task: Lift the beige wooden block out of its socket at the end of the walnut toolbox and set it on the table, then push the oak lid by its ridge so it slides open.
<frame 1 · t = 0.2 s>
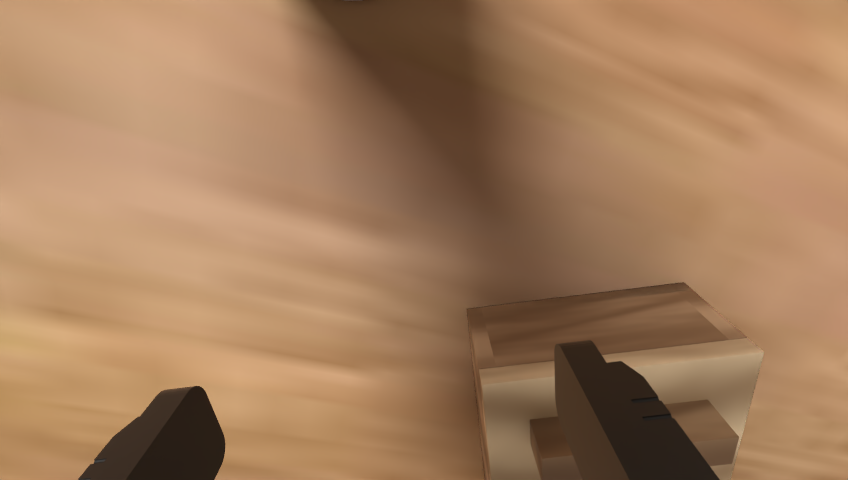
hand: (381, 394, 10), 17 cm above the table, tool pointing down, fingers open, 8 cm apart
toolbox: (572, 392, 33), on the table
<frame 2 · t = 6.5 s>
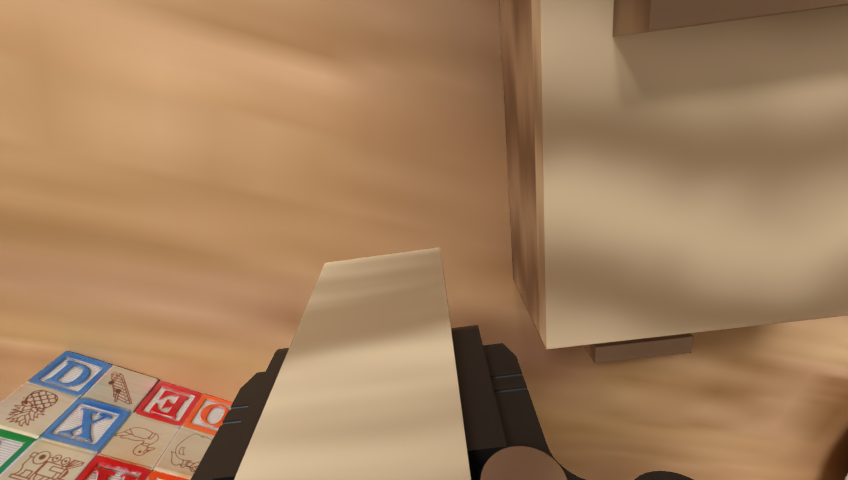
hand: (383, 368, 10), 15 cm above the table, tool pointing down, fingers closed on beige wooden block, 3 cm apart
beige wooden block: (392, 304, 13), point 12 cm above the table, touching gripper
toolbox: (643, 116, 23), on the table
lid: (751, 136, 15), point 8 cm above the table, slide at 0.0 cm
stack of blocks: (216, 425, 31), on the table
when the fingers open (3 cm above the table, at t = 8.7 s): beige wooden block stays where it is, on the table.
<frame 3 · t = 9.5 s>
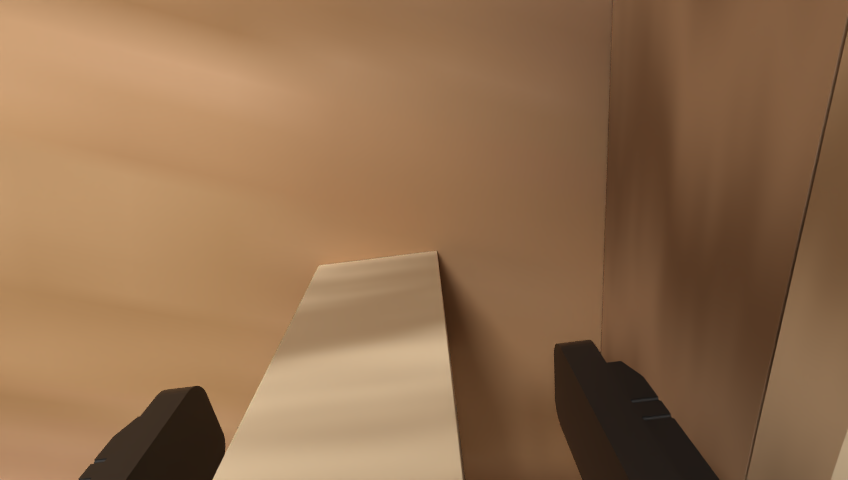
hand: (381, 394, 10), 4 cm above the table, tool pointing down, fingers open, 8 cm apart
beige wooden block: (387, 309, 13), on the table
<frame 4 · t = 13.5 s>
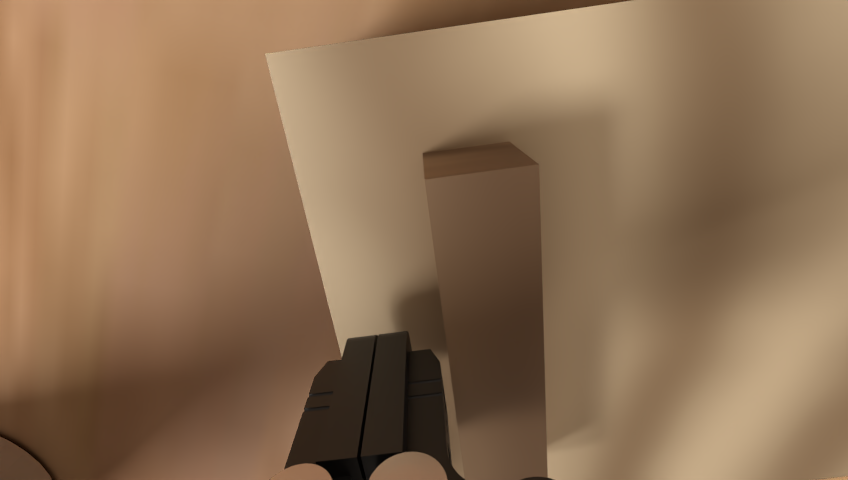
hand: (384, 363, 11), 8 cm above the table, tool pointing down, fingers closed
lid: (681, 320, 11), point 8 cm above the table, slide at 0.2 cm, touching gripper
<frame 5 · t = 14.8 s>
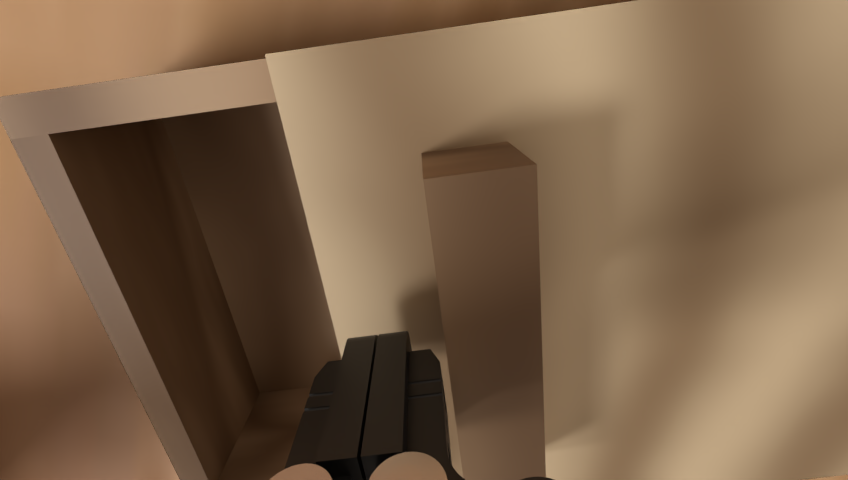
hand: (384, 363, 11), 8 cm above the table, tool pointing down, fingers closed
toolbox: (405, 240, 18), on the table
lid: (678, 320, 11), point 8 cm above the table, slide at 7.3 cm, touching gripper
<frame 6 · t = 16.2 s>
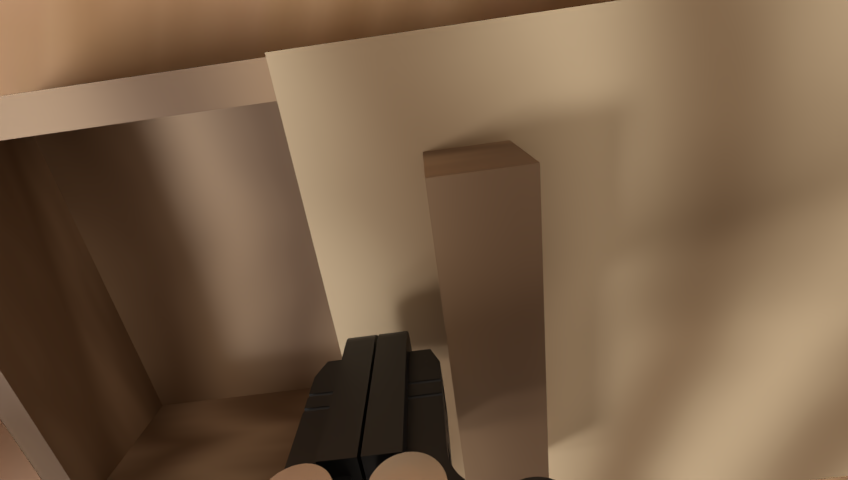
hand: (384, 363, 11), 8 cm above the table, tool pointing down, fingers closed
toolbox: (297, 254, 18), on the table
lid: (682, 320, 11), point 8 cm above the table, slide at 12.1 cm, touching gripper
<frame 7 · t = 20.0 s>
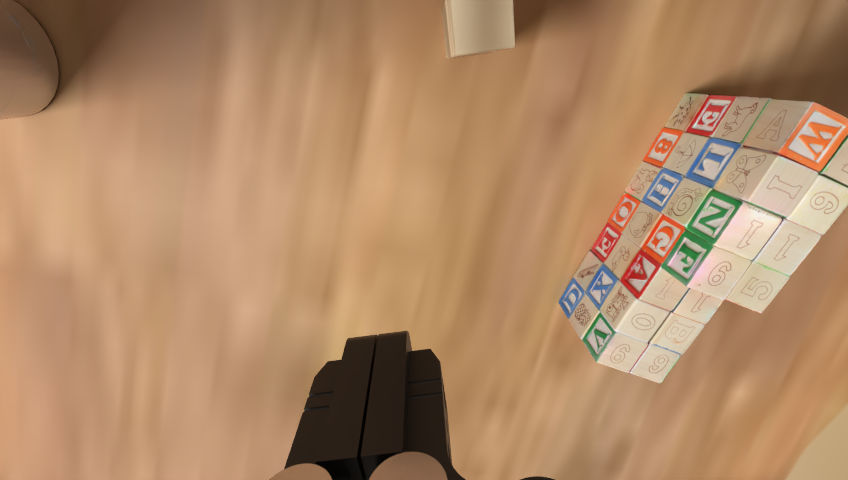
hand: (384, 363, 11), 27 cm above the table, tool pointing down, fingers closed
beige wooden block: (466, 30, 32), on the table
stack of blocks: (642, 217, 38), on the table
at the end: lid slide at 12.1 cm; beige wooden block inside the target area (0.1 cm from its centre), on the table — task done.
